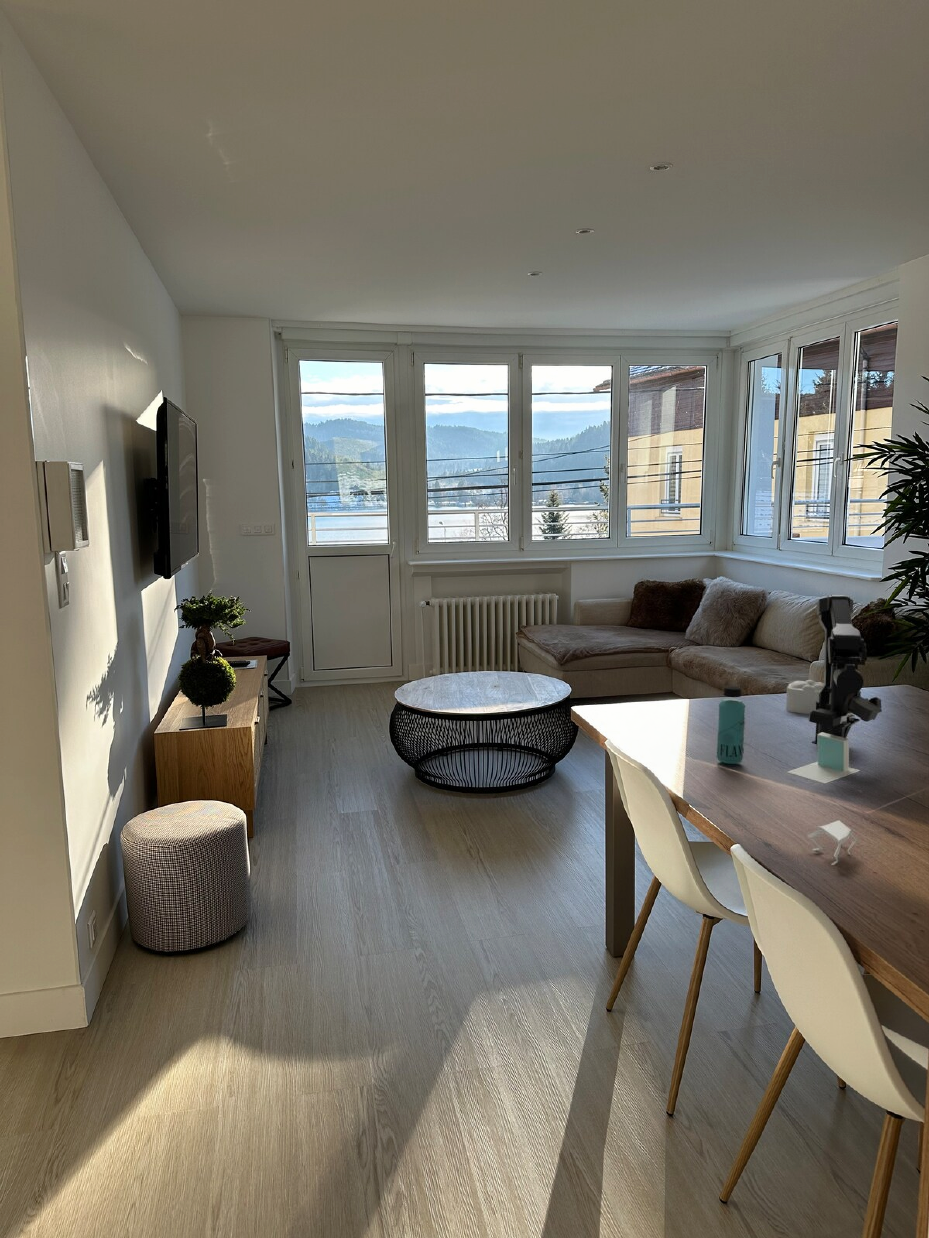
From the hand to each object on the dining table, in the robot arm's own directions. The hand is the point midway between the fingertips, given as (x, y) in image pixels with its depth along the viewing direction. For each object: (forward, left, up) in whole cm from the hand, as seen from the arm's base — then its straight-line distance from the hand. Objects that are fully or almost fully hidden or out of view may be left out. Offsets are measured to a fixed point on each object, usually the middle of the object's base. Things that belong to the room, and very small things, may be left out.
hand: (839, 746), depth 206 cm
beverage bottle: (-17, -20, -6) cm, 27 cm away
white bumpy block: (-36, +43, -6) cm, 57 cm away
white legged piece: (+27, -47, -6) cm, 54 cm away
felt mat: (0, -6, -5) cm, 8 cm away
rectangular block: (0, -2, -5) cm, 5 cm away
